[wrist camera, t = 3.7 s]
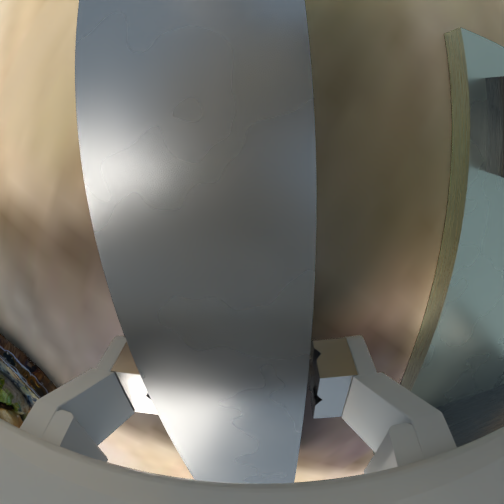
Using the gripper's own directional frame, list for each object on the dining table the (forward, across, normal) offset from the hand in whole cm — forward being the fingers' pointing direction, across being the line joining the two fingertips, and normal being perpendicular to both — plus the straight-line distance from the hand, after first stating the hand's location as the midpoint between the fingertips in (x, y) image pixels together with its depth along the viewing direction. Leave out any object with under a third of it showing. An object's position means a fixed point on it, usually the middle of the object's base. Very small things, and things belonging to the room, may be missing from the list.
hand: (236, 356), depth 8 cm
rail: (+2, 0, 0) cm, 2 cm away
